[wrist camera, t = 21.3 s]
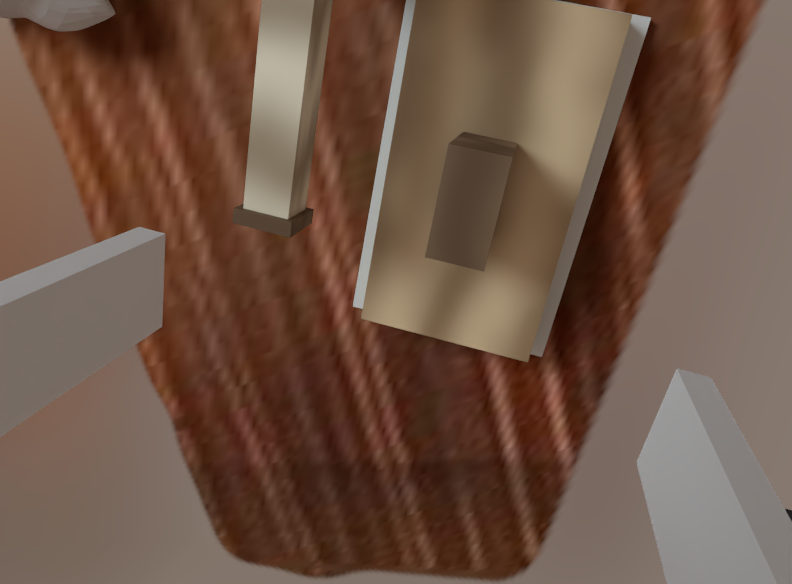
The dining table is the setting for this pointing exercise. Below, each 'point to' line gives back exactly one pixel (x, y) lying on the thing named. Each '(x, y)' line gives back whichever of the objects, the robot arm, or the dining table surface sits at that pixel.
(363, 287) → the light grey flat board
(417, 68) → the lid
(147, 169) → the dining table surface
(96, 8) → the toy
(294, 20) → the beige wooden bar
